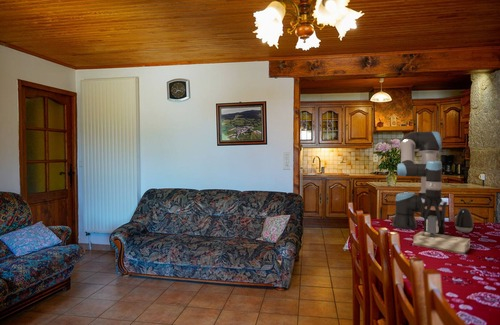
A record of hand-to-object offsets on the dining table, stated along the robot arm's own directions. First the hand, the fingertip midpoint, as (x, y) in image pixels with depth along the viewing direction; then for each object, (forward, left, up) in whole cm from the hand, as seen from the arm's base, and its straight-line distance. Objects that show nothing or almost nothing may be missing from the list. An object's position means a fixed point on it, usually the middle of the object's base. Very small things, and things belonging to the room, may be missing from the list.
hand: (432, 231), depth 181 cm
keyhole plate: (+4, 0, -8) cm, 9 cm away
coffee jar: (-4, +18, -8) cm, 20 cm away
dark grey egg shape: (+6, +47, -8) cm, 48 cm away
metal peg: (0, 0, -6) cm, 6 cm away
